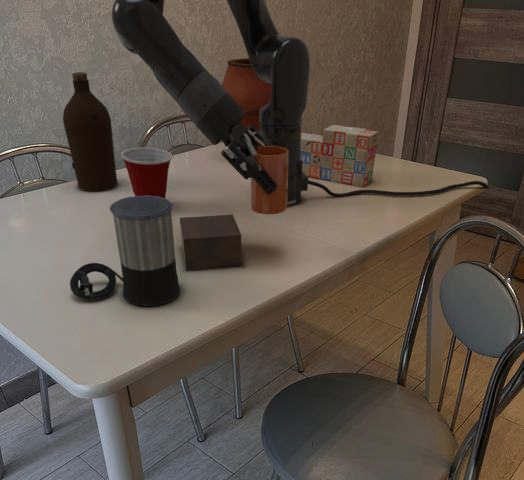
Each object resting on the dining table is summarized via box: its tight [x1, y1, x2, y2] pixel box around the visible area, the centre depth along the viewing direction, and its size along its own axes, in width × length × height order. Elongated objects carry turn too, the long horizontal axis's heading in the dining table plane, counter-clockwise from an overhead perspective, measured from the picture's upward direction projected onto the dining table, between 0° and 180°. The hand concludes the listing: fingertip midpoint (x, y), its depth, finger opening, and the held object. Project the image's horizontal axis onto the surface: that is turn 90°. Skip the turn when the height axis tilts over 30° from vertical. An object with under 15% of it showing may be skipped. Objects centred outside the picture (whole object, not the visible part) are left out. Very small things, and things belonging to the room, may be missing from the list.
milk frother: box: [69, 195, 181, 307], centre depth 83 cm, size 14×16×15 cm
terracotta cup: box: [250, 146, 289, 215], centre depth 93 cm, size 6×6×10 cm
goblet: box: [221, 57, 272, 131], centre depth 147 cm, size 19×19×25 cm
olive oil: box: [62, 71, 118, 192], centre depth 125 cm, size 11×11×25 cm
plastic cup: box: [120, 147, 173, 199], centre depth 116 cm, size 11×11×12 cm
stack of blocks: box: [300, 124, 379, 188], centre depth 136 cm, size 21×6×12 cm, turn 59°
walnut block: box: [179, 213, 243, 271], centre depth 97 cm, size 10×10×6 cm
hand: (278, 184), depth 93 cm, fingers closed on terracotta cup, 6 cm apart
